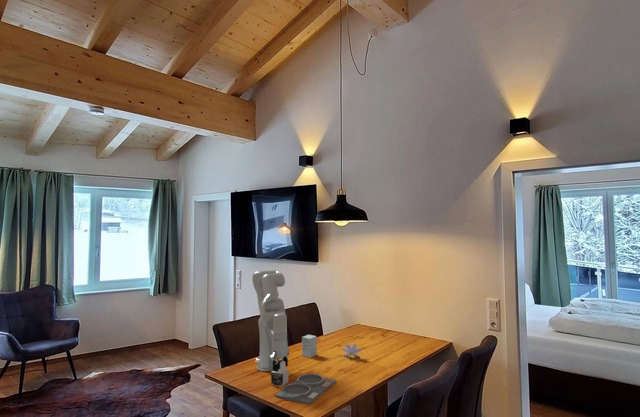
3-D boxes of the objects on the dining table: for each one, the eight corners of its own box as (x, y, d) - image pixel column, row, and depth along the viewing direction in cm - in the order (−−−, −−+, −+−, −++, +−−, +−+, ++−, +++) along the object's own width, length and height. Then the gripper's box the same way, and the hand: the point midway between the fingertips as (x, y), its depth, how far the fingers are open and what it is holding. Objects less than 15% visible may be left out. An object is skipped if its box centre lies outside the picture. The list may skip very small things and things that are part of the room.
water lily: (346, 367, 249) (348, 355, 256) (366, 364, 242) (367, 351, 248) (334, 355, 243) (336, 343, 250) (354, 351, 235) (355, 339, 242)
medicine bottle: (270, 385, 203) (271, 362, 204) (277, 380, 210) (277, 358, 211) (282, 387, 201) (282, 364, 202) (288, 382, 207) (288, 359, 208)
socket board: (275, 396, 189) (275, 394, 189) (304, 376, 216) (304, 374, 216) (310, 404, 180) (309, 402, 180) (336, 382, 207) (336, 380, 207)
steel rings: (277, 394, 189) (277, 391, 189) (305, 375, 215) (305, 372, 215) (301, 400, 182) (301, 396, 183) (327, 379, 208) (327, 376, 209)
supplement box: (308, 353, 258) (308, 334, 259) (317, 355, 253) (317, 336, 254) (301, 355, 252) (301, 336, 253) (310, 358, 247) (309, 338, 248)
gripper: (282, 332, 216) (283, 363, 215) (265, 339, 201) (265, 372, 199) (293, 333, 213) (294, 364, 211) (277, 340, 197) (277, 374, 196)
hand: (280, 368), depth 205 cm, fingers open, 9 cm apart
